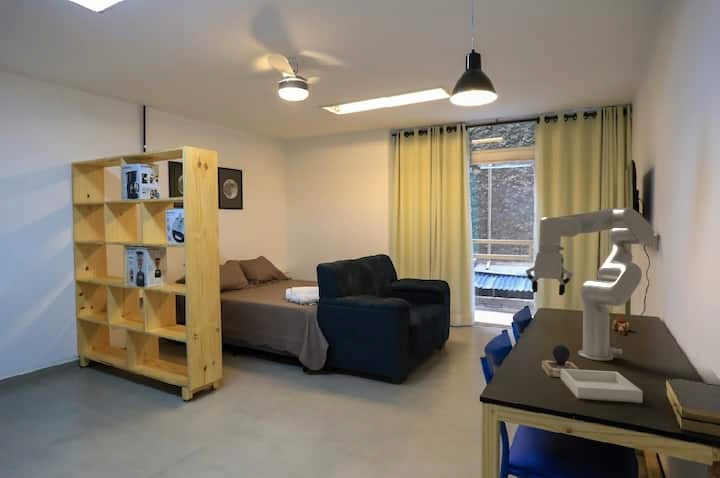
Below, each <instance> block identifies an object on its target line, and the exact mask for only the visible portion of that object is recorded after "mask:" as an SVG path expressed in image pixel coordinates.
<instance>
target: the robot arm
mask: <svg viewBox="0 0 720 478" xmlns="http://www.w3.org/2000/svg"><path fill="white" fill-rule="evenodd" d="M608 230H609V232H608V238H609V243H610V252H609V254H608V255H607V257H606V258H605V260H604V261H603V262H602V264H600V266H599V268H598V270H597V273H596V276H597V279H594V278H593V279H587V280H585V281H584V282H582V284H581V286H580V296H581V301H582V349H580V350H578V352H577V353H578V356H580V357H582V358H584V359H587V360H595V361H600V362H601V361H604V362H605V361H607V362H608V361H613V360H614V355H615V354H617V355H622V354H623V349H621V348H617V347H611V346H610V320H611V319H610V317H611V316H610V311H609V309H608V307H607V306H610V307H621V306H623V305H625V304H626V303H627V302H628V301H629V300H630V298H631V296H632V295H633V293H634V292H635V291H636V289H637V288H638V287H639V285H640V283H641V282H642V281H641V280H642V276H643V274H642V273H643V272H642V269H641V267H640V266H639V265H638V264H637V263H633V262H632V261H633V254H632V251H631V250H630V248H629V245H648V244H650V243H652V242H653V240H654V239H655V231H654V230H655V229H653V226H652V225H651V224H650V223H649V221H647V220H646V219H645V218H644V216H642V215H641V214H640V213H639V212H638V211H637V210H635V209H633V208H631V207H614V208H604V209H599V210H594V211H587V212H581V213H575V214H569V215H562V216H555V217H554V216H553V217H552V216H551V217H550V216H546V217H542V218H541V219H540V220H539V236H538V237H539V241H538V252H536V256H535V260H534V266H533V267H530V268H528V269H526V270H525V274H526V276H527V278H528V279H529V280H530V282H532V283H531V291H532V293H537V292H539V291H538V289H539V286H538V285H539V283H538V280H539V279H546V280H547V279H548V280H549V279H550V280H557V281H558V282H559V285H558V296H564V294H565V292H566V285H567V284H568V283H569V282H570V281H571V280H572V278H573V277H574V273H572V272H570V271H569V270H567V269H565V262H564V261H565V260H564V254H563V253H561V252H562V251H565V246H562V244H561V243H562V242H561V239H562V238H572V237H577V236H579V234H592V233H597V232H603V231H608ZM532 272H533V275H534V276H533V275H532ZM565 275H567V276H566V278H565ZM564 278H565V279H564Z"/></svg>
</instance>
